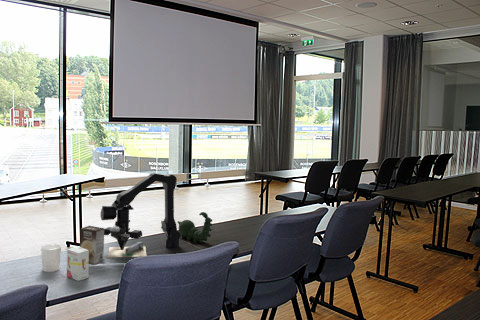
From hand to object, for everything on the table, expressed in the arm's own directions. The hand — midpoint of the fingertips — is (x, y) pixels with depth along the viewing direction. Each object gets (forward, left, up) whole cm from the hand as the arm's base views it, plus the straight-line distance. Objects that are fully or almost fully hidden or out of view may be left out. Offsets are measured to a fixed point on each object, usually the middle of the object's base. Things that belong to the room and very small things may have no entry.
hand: (122, 249), depth 202 cm
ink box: (+17, +28, -3) cm, 33 cm away
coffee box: (+13, +9, -3) cm, 17 cm away
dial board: (-3, -2, -3) cm, 4 cm away
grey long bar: (-6, -1, -1) cm, 6 cm away
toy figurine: (-39, -22, -3) cm, 44 cm away
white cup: (+29, +17, -3) cm, 34 cm away
